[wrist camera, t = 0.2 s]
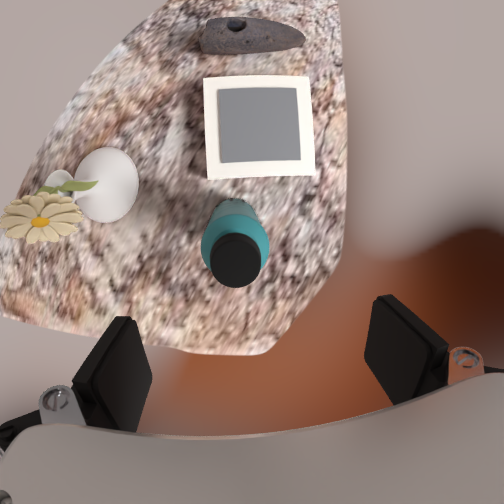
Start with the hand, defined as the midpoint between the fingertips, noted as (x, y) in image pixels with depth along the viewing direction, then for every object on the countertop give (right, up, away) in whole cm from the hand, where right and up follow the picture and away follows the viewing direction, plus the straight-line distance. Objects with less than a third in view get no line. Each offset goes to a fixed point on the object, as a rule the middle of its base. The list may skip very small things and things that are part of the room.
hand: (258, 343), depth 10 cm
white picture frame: (+1, +21, +26) cm, 33 cm away
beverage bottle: (-3, +8, +30) cm, 31 cm away
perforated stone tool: (0, +34, +22) cm, 41 cm away
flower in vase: (-21, +14, +27) cm, 37 cm away
